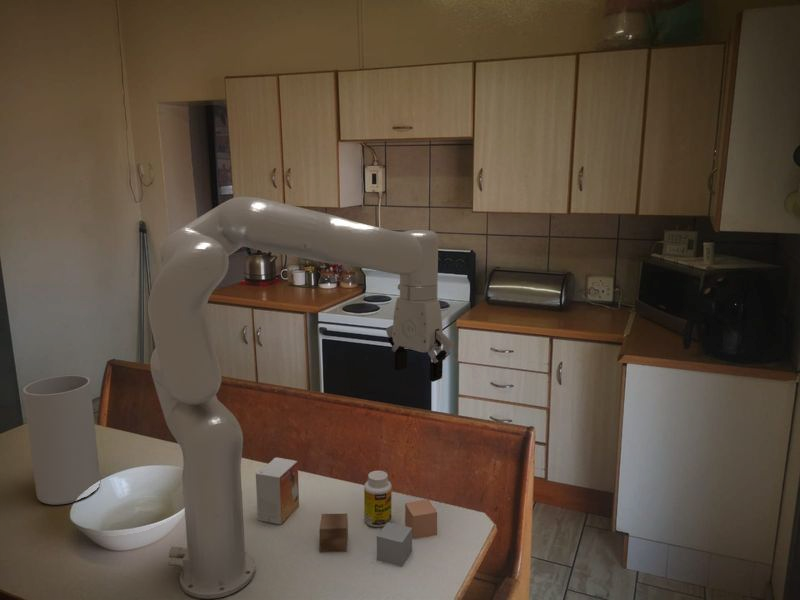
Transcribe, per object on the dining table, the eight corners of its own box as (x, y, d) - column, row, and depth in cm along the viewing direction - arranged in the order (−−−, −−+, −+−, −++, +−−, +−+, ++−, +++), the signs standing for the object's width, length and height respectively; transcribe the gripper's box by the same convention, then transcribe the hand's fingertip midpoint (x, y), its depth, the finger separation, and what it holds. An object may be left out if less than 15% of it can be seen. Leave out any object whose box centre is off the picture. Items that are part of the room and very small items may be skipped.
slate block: (376, 560, 111) (376, 536, 110) (387, 545, 116) (387, 522, 115) (401, 567, 110) (402, 542, 109) (412, 551, 114) (412, 527, 113)
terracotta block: (412, 539, 118) (413, 516, 117) (405, 525, 123) (405, 503, 122) (436, 535, 119) (437, 512, 118) (428, 521, 124) (428, 499, 123)
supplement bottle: (373, 531, 120) (373, 484, 118) (359, 518, 125) (358, 472, 123) (396, 523, 123) (397, 476, 121) (382, 510, 128) (382, 465, 126)
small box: (281, 525, 122) (279, 477, 120) (257, 520, 124) (254, 473, 122) (300, 505, 130) (298, 460, 127) (277, 501, 131) (275, 456, 129)
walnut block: (320, 552, 114) (319, 528, 113) (322, 537, 119) (321, 514, 118) (346, 552, 114) (346, 528, 113) (347, 536, 119) (347, 513, 118)
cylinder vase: (101, 498, 132) (89, 389, 127) (35, 512, 127) (20, 399, 122) (100, 473, 143) (89, 372, 138) (39, 485, 138) (25, 380, 133)
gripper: (374, 289, 124) (375, 369, 127) (439, 301, 112) (438, 389, 116) (400, 284, 129) (399, 361, 133) (464, 295, 118) (462, 379, 121)
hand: (417, 374), depth 124 cm, fingers open, 9 cm apart
